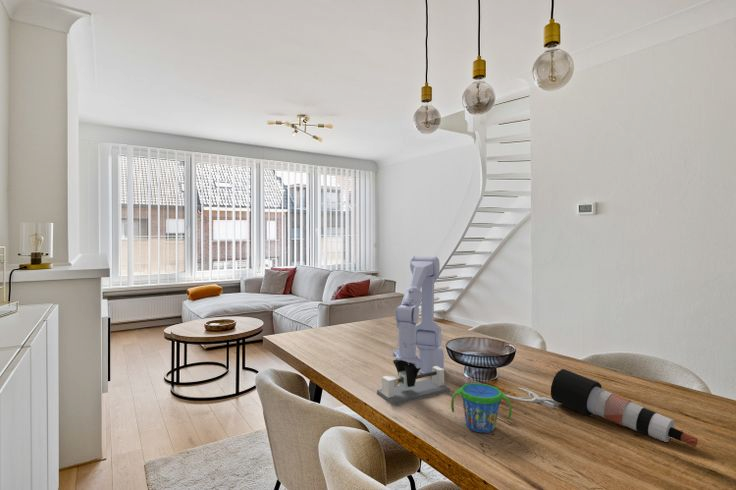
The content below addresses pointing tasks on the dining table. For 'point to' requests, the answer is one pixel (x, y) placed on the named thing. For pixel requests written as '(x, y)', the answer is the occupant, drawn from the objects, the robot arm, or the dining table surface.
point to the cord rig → (419, 391)
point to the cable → (612, 407)
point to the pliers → (536, 399)
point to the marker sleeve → (403, 375)
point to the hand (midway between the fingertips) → (406, 383)
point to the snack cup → (481, 405)
